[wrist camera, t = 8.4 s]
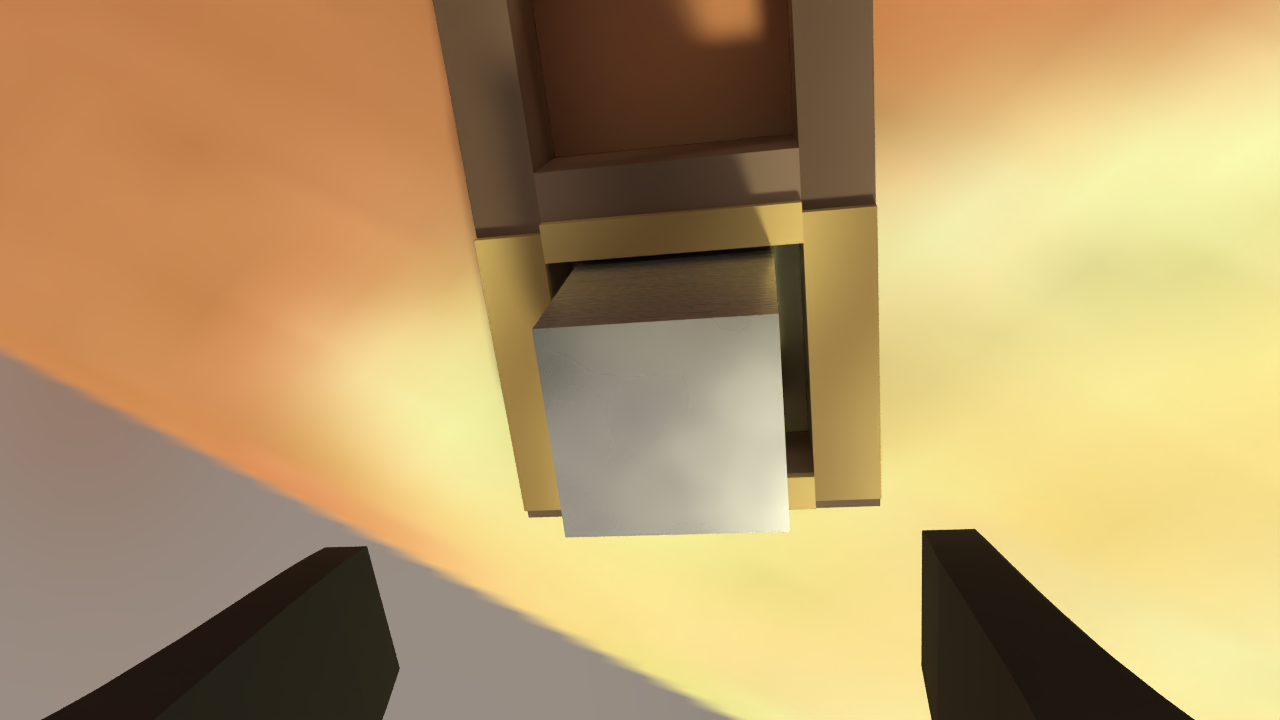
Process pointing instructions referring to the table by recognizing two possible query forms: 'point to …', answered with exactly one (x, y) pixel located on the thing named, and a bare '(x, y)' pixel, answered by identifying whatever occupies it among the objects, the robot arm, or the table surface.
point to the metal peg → (666, 395)
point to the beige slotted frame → (682, 224)
